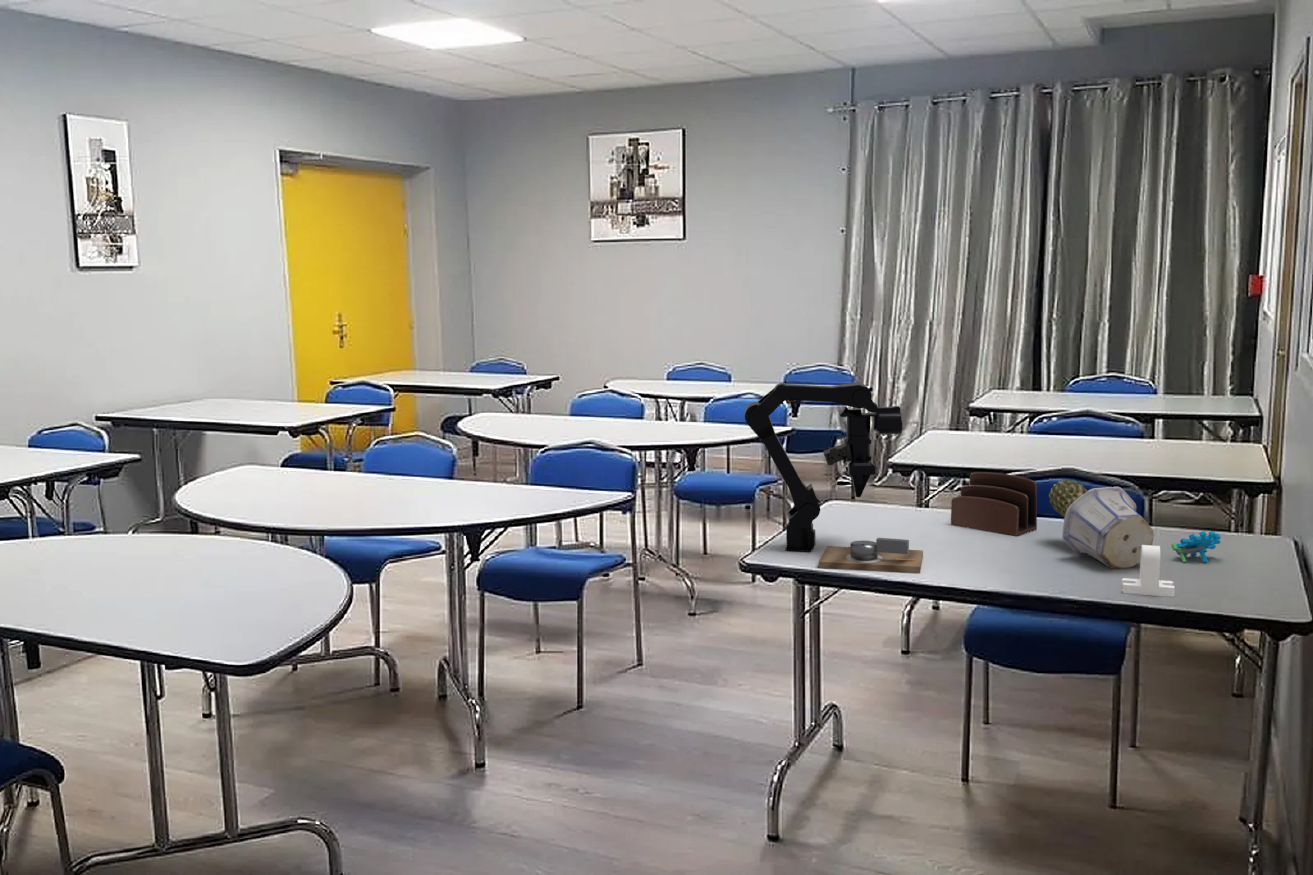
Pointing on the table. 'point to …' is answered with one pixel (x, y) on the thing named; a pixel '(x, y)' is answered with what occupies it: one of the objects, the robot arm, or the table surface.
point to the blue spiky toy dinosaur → (1197, 545)
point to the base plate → (871, 561)
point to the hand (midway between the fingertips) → (858, 497)
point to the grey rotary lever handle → (878, 548)
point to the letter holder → (996, 504)
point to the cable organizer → (1149, 576)
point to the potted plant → (1101, 523)
